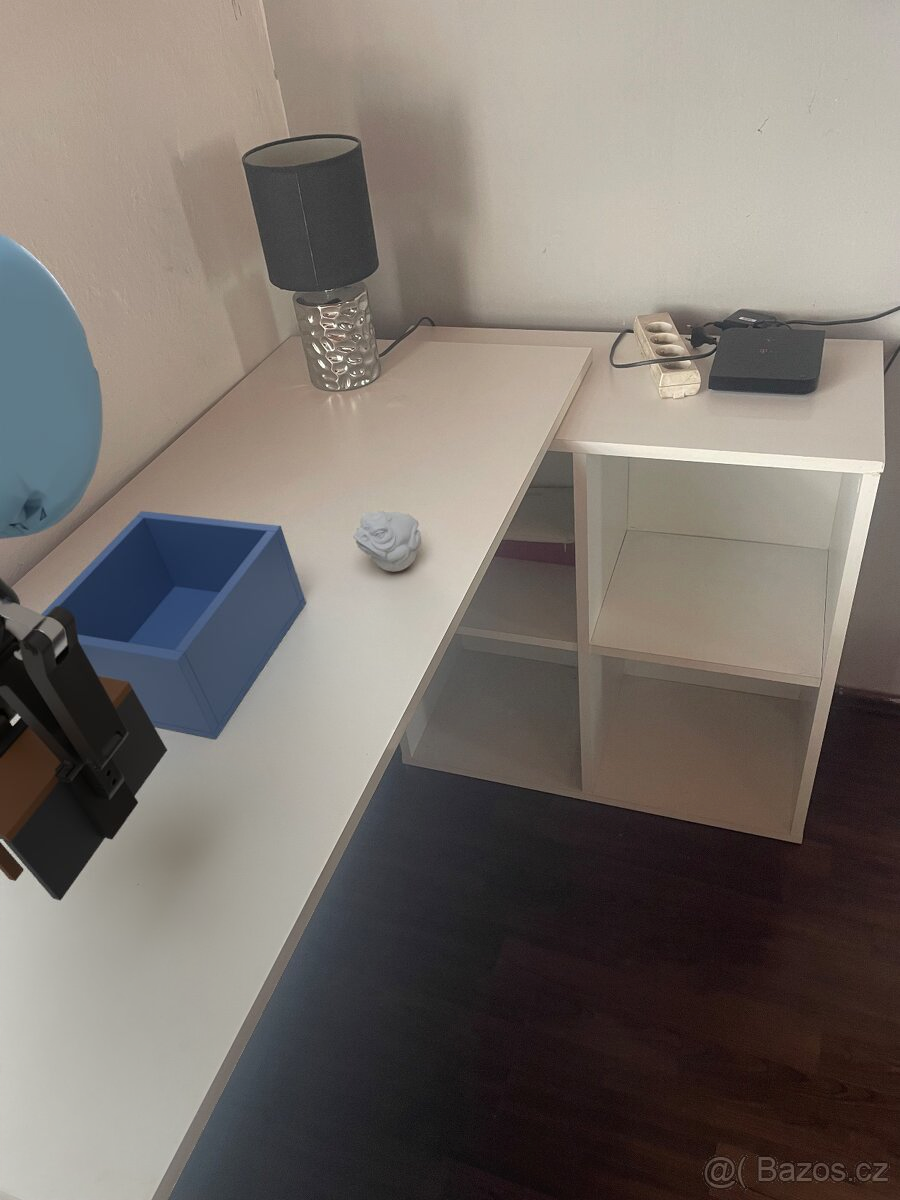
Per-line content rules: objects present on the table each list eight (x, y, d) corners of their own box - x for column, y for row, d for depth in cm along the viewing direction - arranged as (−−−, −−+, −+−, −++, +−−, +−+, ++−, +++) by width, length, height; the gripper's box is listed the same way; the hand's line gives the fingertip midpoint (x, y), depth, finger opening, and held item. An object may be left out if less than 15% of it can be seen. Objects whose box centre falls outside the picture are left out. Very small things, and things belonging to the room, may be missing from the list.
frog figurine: (352, 568, 91) (337, 514, 86) (408, 539, 93) (396, 485, 88) (381, 596, 87) (367, 541, 82) (439, 565, 89) (429, 510, 84)
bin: (215, 739, 75) (177, 660, 69) (69, 709, 80) (21, 633, 74) (306, 603, 87) (281, 525, 81) (174, 584, 93) (141, 510, 86)
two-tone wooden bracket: (167, 750, 56) (129, 681, 52) (60, 901, 49) (5, 835, 45) (117, 738, 58) (75, 670, 53) (5, 884, 50) (-54, 819, 46)
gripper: (79, 466, 37) (238, 790, 53) (-193, 440, 43) (22, 739, 59) (-46, 577, 32) (170, 899, 48) (-335, 531, 38) (-59, 832, 53)
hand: (88, 810), depth 53 cm, fingers closed on two-tone wooden bracket, 4 cm apart
